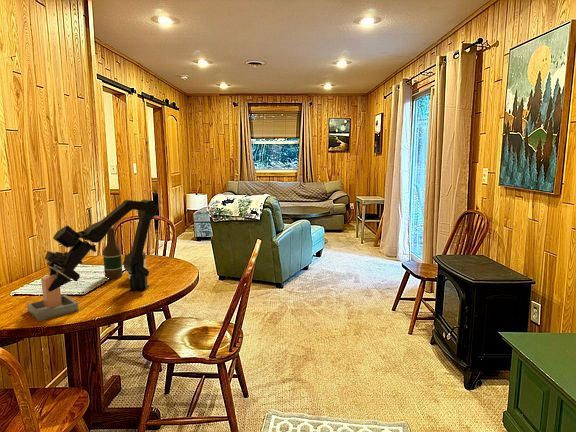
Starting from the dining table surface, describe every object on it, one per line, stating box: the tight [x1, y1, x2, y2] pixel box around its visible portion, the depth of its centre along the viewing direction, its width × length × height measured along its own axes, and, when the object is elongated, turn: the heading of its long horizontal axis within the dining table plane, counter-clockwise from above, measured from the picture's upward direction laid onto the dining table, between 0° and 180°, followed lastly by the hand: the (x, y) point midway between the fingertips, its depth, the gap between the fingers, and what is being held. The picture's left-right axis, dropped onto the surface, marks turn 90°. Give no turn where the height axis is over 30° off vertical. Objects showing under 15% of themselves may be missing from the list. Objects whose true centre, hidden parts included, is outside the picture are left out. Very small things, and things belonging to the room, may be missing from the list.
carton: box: [40, 274, 62, 309], centre depth 147 cm, size 5×5×11 cm
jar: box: [126, 251, 147, 280], centre depth 188 cm, size 9×8×12 cm
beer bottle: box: [102, 226, 123, 280], centre depth 188 cm, size 8×8×24 cm
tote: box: [26, 294, 79, 322], centre depth 148 cm, size 13×13×3 cm
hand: (46, 289), depth 146 cm, fingers closed on carton, 4 cm apart
